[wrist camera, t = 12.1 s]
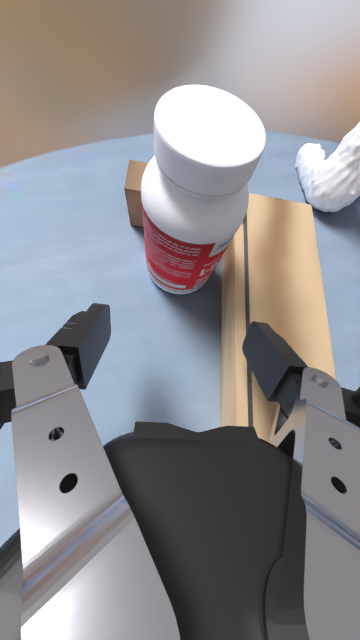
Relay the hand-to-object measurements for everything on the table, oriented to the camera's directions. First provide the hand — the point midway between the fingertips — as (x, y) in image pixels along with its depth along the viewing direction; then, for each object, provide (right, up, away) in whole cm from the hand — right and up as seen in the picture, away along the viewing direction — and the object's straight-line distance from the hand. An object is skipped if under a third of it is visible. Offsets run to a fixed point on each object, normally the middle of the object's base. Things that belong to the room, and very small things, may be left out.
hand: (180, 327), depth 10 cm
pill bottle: (0, +6, +8) cm, 9 cm away
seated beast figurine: (+18, +16, +13) cm, 27 cm away
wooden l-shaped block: (+3, 0, +7) cm, 7 cm away
